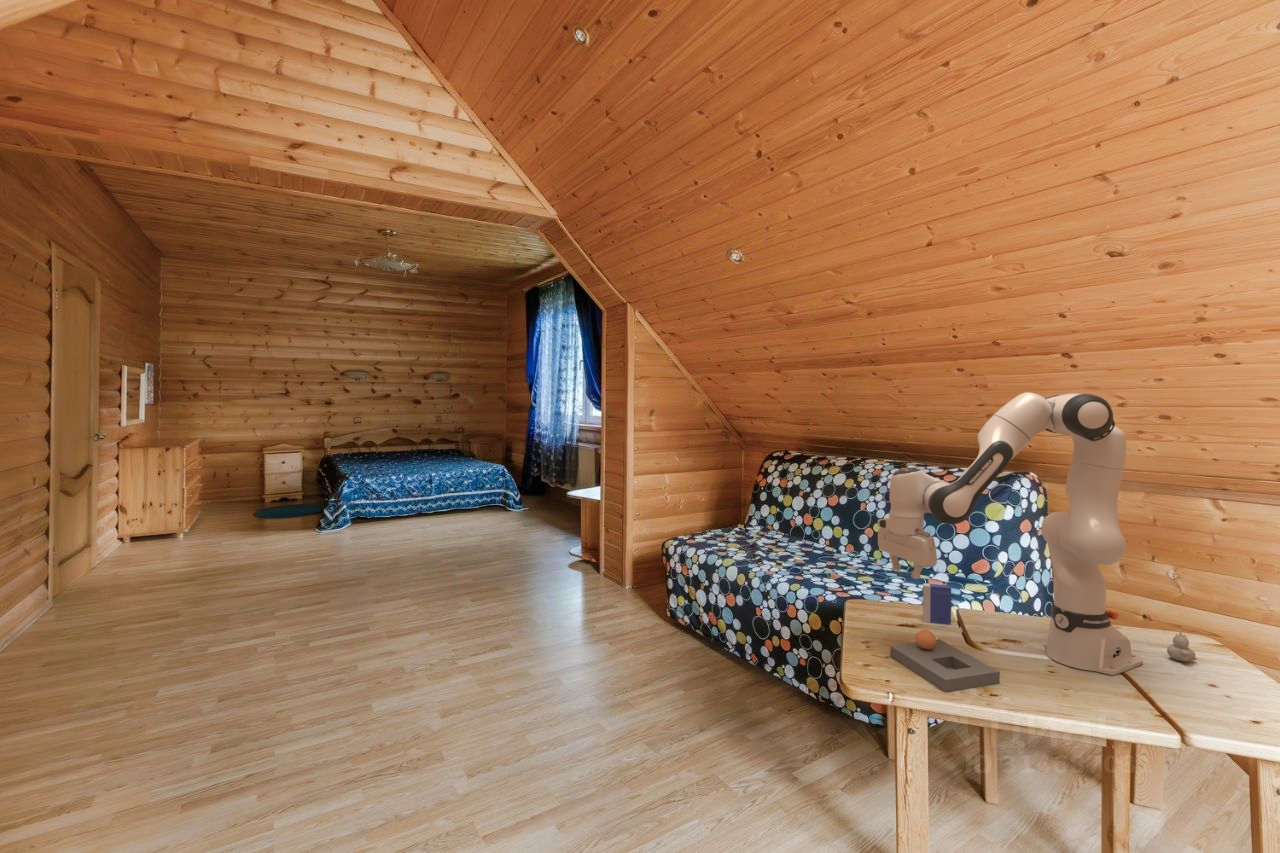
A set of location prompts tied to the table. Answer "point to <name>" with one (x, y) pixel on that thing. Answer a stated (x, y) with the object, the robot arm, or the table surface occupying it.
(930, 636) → the ball
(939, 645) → the pocket board
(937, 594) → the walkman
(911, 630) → the table surface
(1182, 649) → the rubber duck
